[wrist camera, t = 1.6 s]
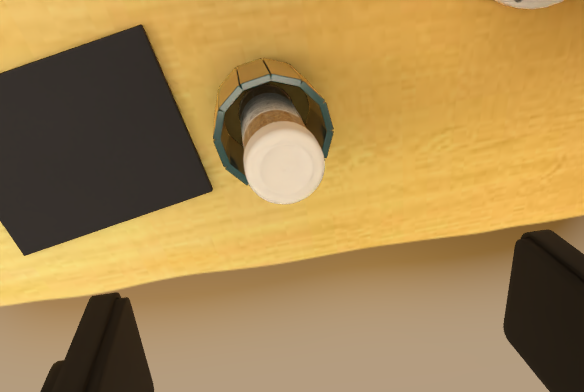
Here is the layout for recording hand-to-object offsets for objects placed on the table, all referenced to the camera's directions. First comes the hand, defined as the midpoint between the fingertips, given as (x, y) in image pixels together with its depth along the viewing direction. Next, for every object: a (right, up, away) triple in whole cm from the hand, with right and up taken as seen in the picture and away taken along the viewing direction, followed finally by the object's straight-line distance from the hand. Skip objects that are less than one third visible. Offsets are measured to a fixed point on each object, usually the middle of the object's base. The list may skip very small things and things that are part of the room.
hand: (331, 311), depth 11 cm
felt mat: (-18, +7, +26) cm, 32 cm away
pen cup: (-3, +10, +27) cm, 29 cm away
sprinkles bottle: (-3, +10, +27) cm, 29 cm away
